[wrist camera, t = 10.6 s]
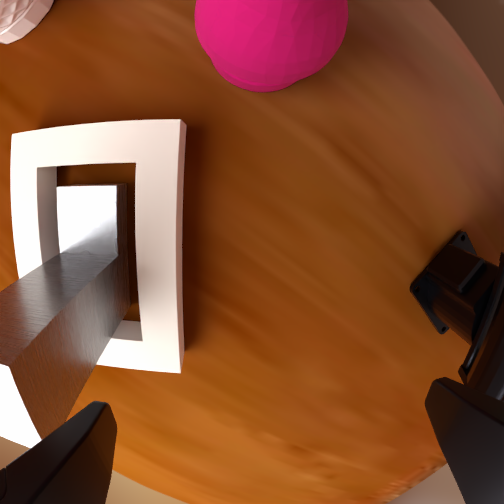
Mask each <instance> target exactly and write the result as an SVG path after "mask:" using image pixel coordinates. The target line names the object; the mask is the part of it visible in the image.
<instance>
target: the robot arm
mask: <svg viewBox="0 0 504 504" xmlns="http://www.w3.org/2000/svg"><path fill="white" fill-rule="evenodd" d="M461 236H462V238H461ZM499 260H500V264H499V266H496V265H494V264H492V263H490V262H488V261H486V260H484V259H483V258H481V257H479V256H477V254H476V252H475V250H474V248H473V246H472V244H471V242H470V240H469V238H468V236H467V234H466V232H463V231H458V232H457V233H456V235H455V236H454V237H453V238H452V239H451V241H450V242H449V243H448V244H447V245H446V246H445V248H444V249H443V250H442V251H441V252H440V253H439V254H438V256H437V257H436V258H435V259H434V260H433V261H432V262H431V263H430V265H429V266H428V267H427V268H426V269H425V270H424V271H423V272H422V273H421V274H420V275H419V276H418V278H417V279H416V280H415V281H414V282H413V283H412V284H411V286H410V292H411V293H412V295H413V296H414V298H415V299H416V300H417V302H418V303H419V305H420V306H421V308H422V309H423V311H424V312H425V314H426V315H427V316H428V318H429V319H430V321H431V322H432V324H433V325H434V327H435V329H436V330H437V331H438V332H439V333H440V334H444V333H445V332H446V331H447V330H448V329H449V328H451V329H452V330H453V331H454V332H455V333H457V334H458V335H459V336H460V337H461V338H462V339H464V340H465V341H466V342H467V343H468V344H469V345H471V347H470V349H469V352H468V354H467V356H466V358H465V360H464V363H463V364H462V365H461V366H460V368H459V370H458V373H459V375H460V377H461V379H462V381H463V383H464V385H463V384H461V383H458V382H456V381H454V380H451V379H449V378H447V377H443V378H439V379H436V380H434V381H433V382H432V384H431V387H430V389H429V392H428V394H427V397H426V399H425V408H426V410H427V413H428V416H429V418H430V421H431V424H432V426H433V429H434V432H435V435H436V438H437V440H438V443H439V446H440V448H441V450H442V452H443V454H444V456H445V458H446V461H447V463H448V465H449V467H450V469H451V471H452V473H453V476H454V478H455V480H456V482H457V485H458V487H459V489H460V491H461V494H462V496H463V498H464V501H465V503H466V504H504V253H503V252H501V256H500V259H499ZM417 286H418V288H417V289H416V290H415V288H416V287H417ZM116 435H117V424H116V421H115V418H114V415H113V413H112V410H111V407H110V405H109V404H108V403H106V402H99V401H94V402H92V403H90V404H89V405H88V406H86V407H85V408H84V409H82V410H81V411H80V412H78V413H77V414H76V415H74V416H73V417H72V418H70V419H69V420H68V421H66V422H65V423H64V424H62V425H61V426H60V427H58V428H57V429H56V430H54V431H53V432H52V433H50V434H49V435H48V436H46V437H45V438H44V439H42V440H41V441H40V442H38V443H37V444H36V445H34V446H33V447H32V448H30V449H29V450H27V451H26V452H25V453H24V454H22V455H21V456H19V457H18V458H17V459H15V460H14V461H12V462H11V463H10V464H8V465H7V466H6V468H3V469H1V470H0V504H105V502H106V498H107V493H108V489H109V485H110V480H111V474H112V467H113V458H114V450H115V443H116Z"/></svg>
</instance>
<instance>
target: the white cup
mask: <svg viewBox="0 0 504 504" xmlns="http://www.w3.org/2000/svg"><path fill="white" fill-rule="evenodd" d="M53 2H54V0H0V43H4V44H9V43H11V42H14V41H16V40H18V39H21V38H23V37H24V36H25V35H26V34H27V33H29V32H30V31H31V30H32V29H34V28H35V27H36V26H37V25H38V24H39V22H40V21H41V20H42V19H43V17H44V16H45V15H46V14H47V12H48V11H49V10H50V8H51V6H52V4H53Z"/></svg>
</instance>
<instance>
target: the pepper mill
mask: <svg viewBox="0 0 504 504" xmlns="http://www.w3.org/2000/svg"><path fill="white" fill-rule="evenodd" d="M347 22H348V4H347V0H197V1H196V7H195V29H196V33H197V37H198V39H199V41H200V43H201V46H202V47H203V49H204V50H205V52H206V53H207V54H208V56H209V57H210V58H211V60H212V63H213V65H214V67H215V68H216V70H217V71H218V72H219V74H220V75H221V76H222V77H223V78H224V79H226V80H227V81H229V82H230V83H232V84H234V85H236V86H238V87H240V88H243V89H246V90H249V91H254V92H272V91H277V90H281V89H284V88H286V87H288V86H290V85H292V84H293V83H295V82H296V81H297V80H301V79H304V78H306V77H308V76H310V75H312V74H314V73H316V72H317V71H319V70H320V69H321V68H323V67H324V66H325V65H326V64H327V63H328V62H329V61H330V60H331V58H332V57H333V56H334V54H335V53H336V51H337V50H338V48H339V47H340V45H341V43H342V41H343V39H344V36H345V32H346V27H347Z"/></svg>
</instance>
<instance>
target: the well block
mask: <svg viewBox="0 0 504 504" xmlns="http://www.w3.org/2000/svg"><path fill="white" fill-rule="evenodd" d="M186 127H187V125H186V124H185V123H184V122H183V121H182V120H181V119H164V120H132V121H114V122H101V123H89V124H79V125H70V126H62V127H54V128H47V129H40V130H34V131H28V132H22V133H16V134H12V144H11V209H12V224H13V235H14V245H15V253H16V261H17V268H18V274H19V279H20V278H22V277H23V276H25V275H26V274H28V273H29V272H31V271H32V270H34V269H35V268H37V267H39V266H40V265H42V264H43V263H45V262H46V261H48V260H50V259H51V258H53V257H54V256H56V255H58V254H59V253H60V247H59V235H58V219H57V166H65V165H81V164H102V163H136V182H135V234H136V263H137V281H138V296H139V308H140V319H141V322H138V321H126V320H122V321H121V322H120V324H119V326H118V327H117V329H116V331H115V332H114V334H113V336H112V338H111V339H110V341H109V343H108V344H107V346H106V348H105V349H104V351H103V353H102V355H101V356H100V358H99V360H98V362H97V363H96V364H99V365H106V366H113V367H121V368H130V369H139V370H149V371H160V372H172V373H181V368H182V362H183V357H184V331H183V297H182V216H183V183H184V160H185V143H186Z"/></svg>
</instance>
